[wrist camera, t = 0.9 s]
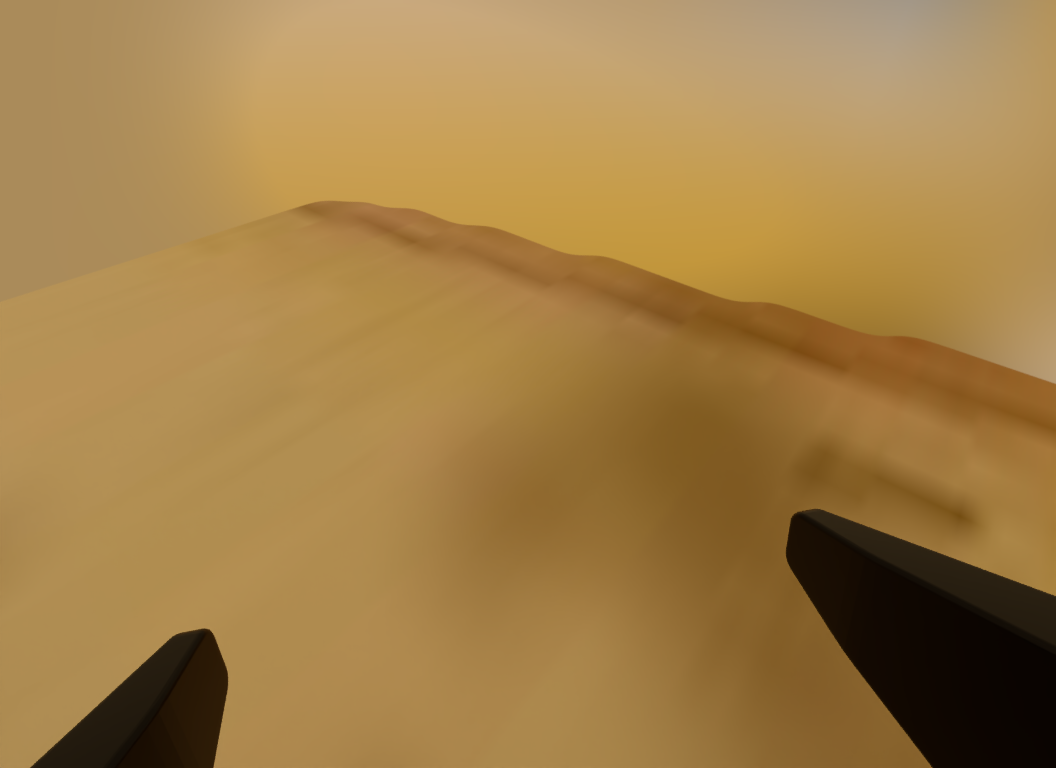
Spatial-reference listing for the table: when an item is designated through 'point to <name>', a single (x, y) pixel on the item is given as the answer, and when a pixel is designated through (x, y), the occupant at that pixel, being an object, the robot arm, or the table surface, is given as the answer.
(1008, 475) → the table surface
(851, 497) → the table surface
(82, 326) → the table surface
